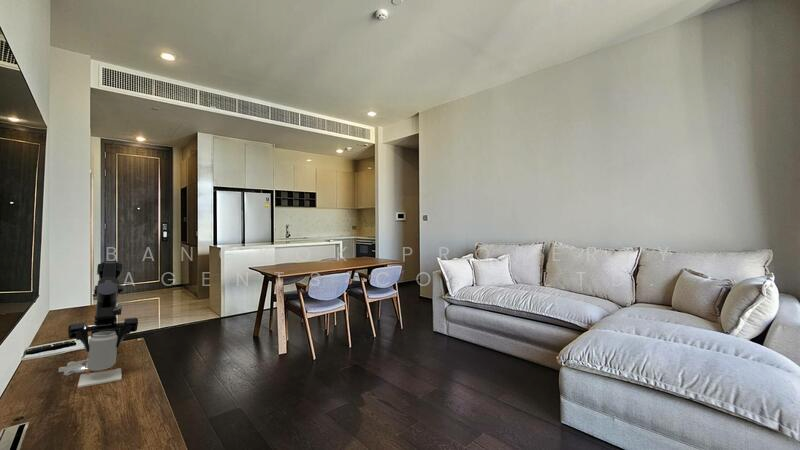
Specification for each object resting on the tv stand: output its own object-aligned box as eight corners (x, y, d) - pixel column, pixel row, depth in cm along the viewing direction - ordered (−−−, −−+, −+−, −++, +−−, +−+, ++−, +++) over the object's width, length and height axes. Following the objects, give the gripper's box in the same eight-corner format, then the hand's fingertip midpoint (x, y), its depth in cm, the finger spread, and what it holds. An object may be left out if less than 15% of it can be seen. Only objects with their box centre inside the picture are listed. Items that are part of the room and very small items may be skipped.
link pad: (80, 376, 118) (80, 374, 118) (121, 369, 125) (121, 367, 125) (77, 387, 110) (77, 385, 110) (121, 379, 117) (121, 377, 117)
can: (105, 371, 115) (108, 335, 115) (81, 371, 114) (83, 335, 114) (120, 363, 122) (123, 329, 123) (97, 363, 121) (100, 329, 122)
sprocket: (61, 364, 128) (61, 359, 128) (115, 356, 138) (115, 352, 138) (55, 378, 116) (56, 373, 116) (115, 369, 126) (115, 364, 126)
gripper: (70, 300, 116) (64, 341, 107) (139, 296, 128) (138, 332, 119) (71, 318, 122) (65, 358, 113) (137, 312, 134) (136, 349, 125)
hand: (102, 349), depth 117 cm, fingers closed on can, 7 cm apart
